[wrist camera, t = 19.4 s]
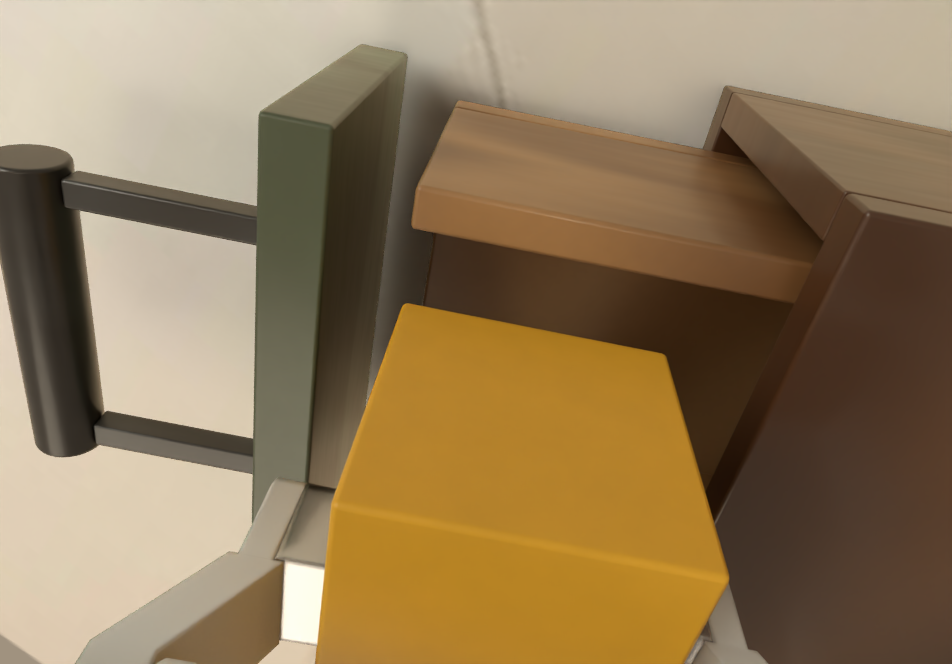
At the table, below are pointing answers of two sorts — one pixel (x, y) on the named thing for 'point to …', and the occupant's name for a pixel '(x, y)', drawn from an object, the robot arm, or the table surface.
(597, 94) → the table surface
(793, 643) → the cabinet
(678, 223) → the drawer
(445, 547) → the mustard yellow brick
